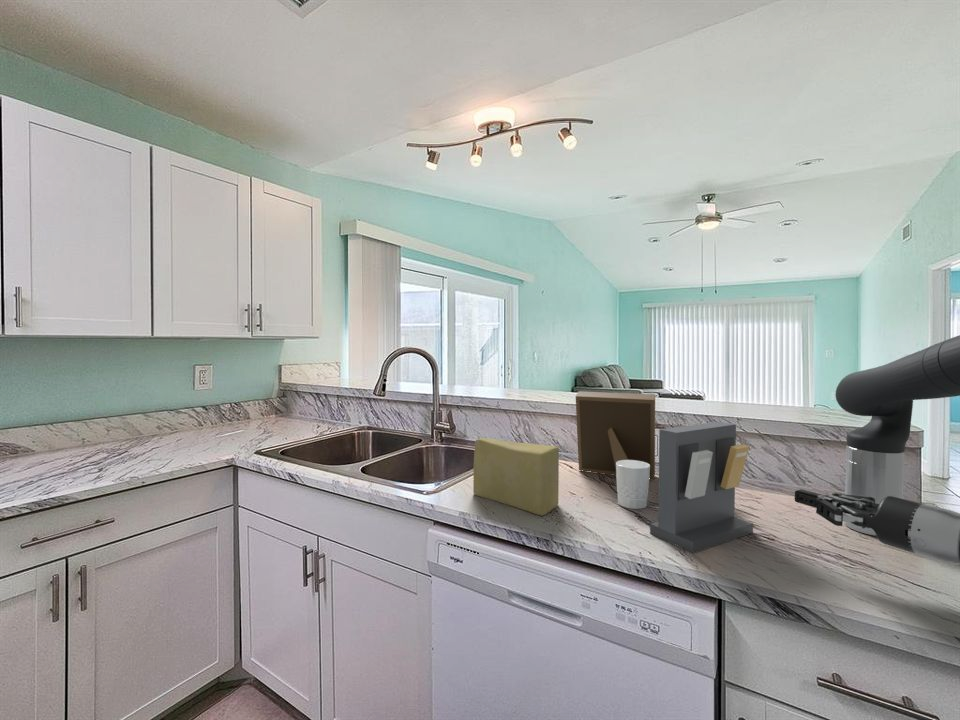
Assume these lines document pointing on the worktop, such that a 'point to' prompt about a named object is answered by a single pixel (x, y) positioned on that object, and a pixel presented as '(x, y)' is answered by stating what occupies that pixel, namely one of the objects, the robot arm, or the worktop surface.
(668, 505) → the power panel
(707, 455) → the grey rocker
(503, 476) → the cheese
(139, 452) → the worktop surface
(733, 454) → the amber rocker
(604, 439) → the photo frame
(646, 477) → the white cup
